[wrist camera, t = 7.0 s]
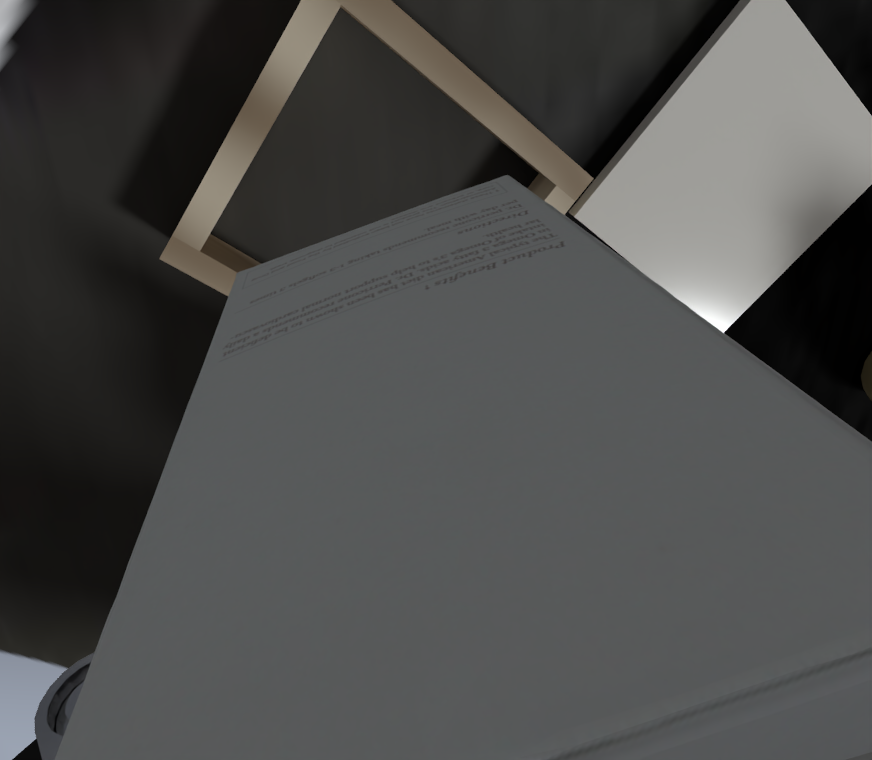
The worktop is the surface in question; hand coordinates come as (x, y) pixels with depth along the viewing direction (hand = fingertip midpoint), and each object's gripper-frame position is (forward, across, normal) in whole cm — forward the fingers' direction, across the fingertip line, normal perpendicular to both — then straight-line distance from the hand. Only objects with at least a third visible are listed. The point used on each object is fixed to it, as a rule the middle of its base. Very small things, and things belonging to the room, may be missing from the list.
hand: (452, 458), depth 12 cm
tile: (+19, -18, +2) cm, 26 cm away
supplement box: (+5, 0, 0) cm, 5 cm away
